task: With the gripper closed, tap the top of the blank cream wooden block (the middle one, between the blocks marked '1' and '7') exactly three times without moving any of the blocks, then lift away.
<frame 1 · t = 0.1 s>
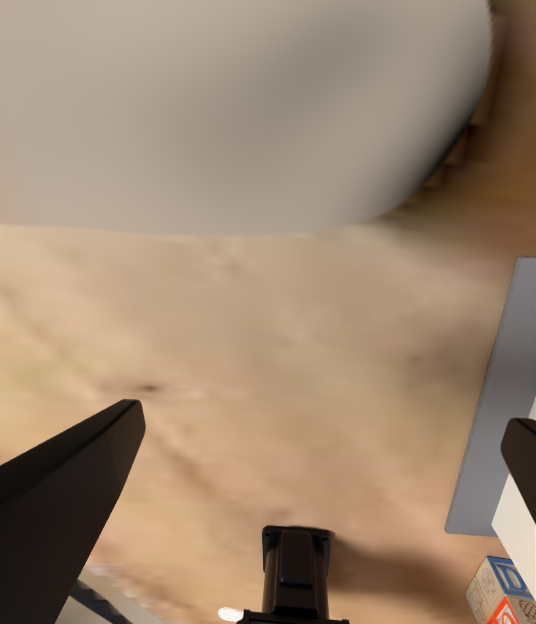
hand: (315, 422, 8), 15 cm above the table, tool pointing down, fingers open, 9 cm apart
spoon: (293, 622, 37), on the table
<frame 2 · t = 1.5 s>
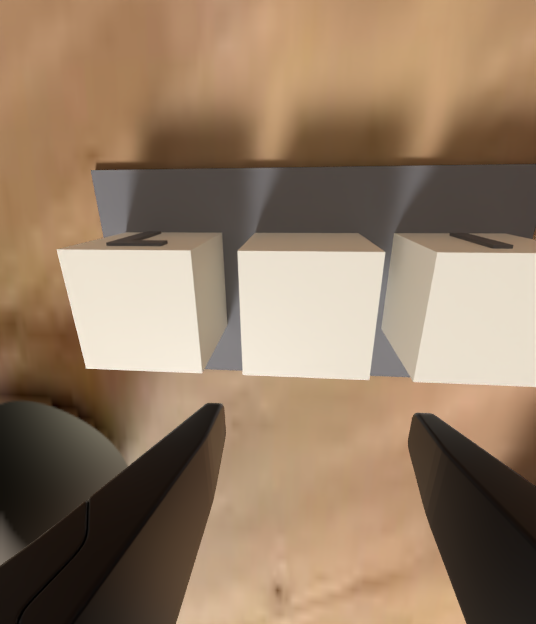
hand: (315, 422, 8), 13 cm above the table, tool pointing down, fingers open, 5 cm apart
tap mat: (304, 280, 20), on the table
digit block 1: (438, 284, 19), resting on tap mat
blank block: (304, 282, 20), resting on tap mat
digit block 7: (178, 280, 20), resting on tap mat
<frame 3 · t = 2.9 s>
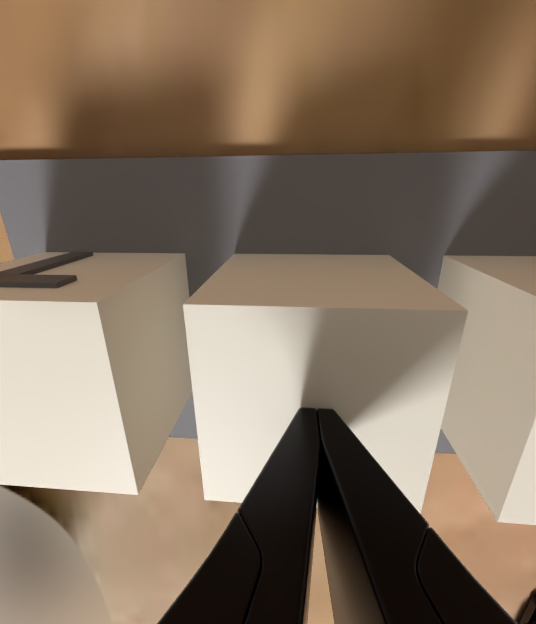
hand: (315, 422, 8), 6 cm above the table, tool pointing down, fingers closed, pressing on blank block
tap mat: (306, 321, 14), on the table
digit block 1: (507, 330, 13), resting on tap mat
blank block: (307, 325, 13), resting on tap mat, touching gripper
digit block 7: (126, 320, 14), resting on tap mat
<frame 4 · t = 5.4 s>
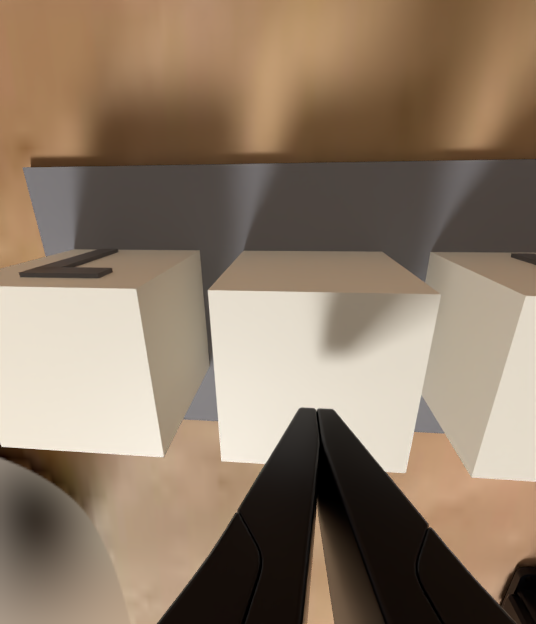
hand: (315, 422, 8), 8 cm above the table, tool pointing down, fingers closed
tap mat: (308, 311, 15), on the table
digit block 1: (488, 319, 14), resting on tap mat
blank block: (308, 314, 15), resting on tap mat
digit block 7: (145, 310, 16), resting on tap mat
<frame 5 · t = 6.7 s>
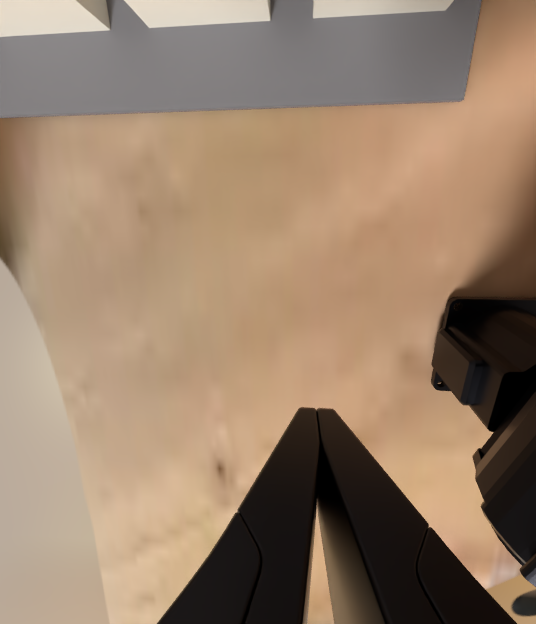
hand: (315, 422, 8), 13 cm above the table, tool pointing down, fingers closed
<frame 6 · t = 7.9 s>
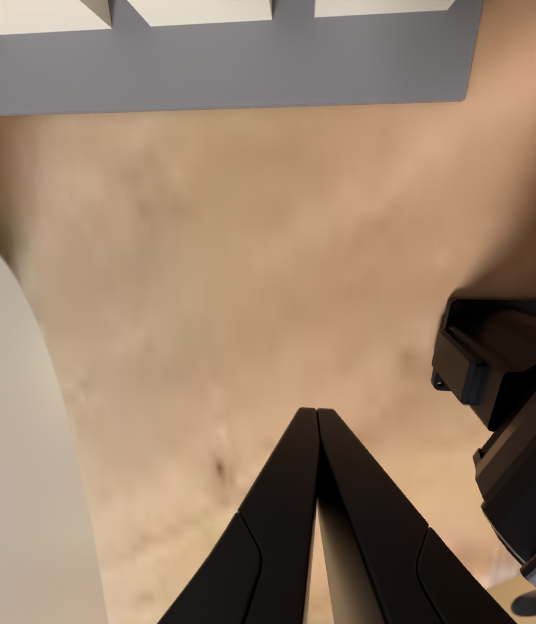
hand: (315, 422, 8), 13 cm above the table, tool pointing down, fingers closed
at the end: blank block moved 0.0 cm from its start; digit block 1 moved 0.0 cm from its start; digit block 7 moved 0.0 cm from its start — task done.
